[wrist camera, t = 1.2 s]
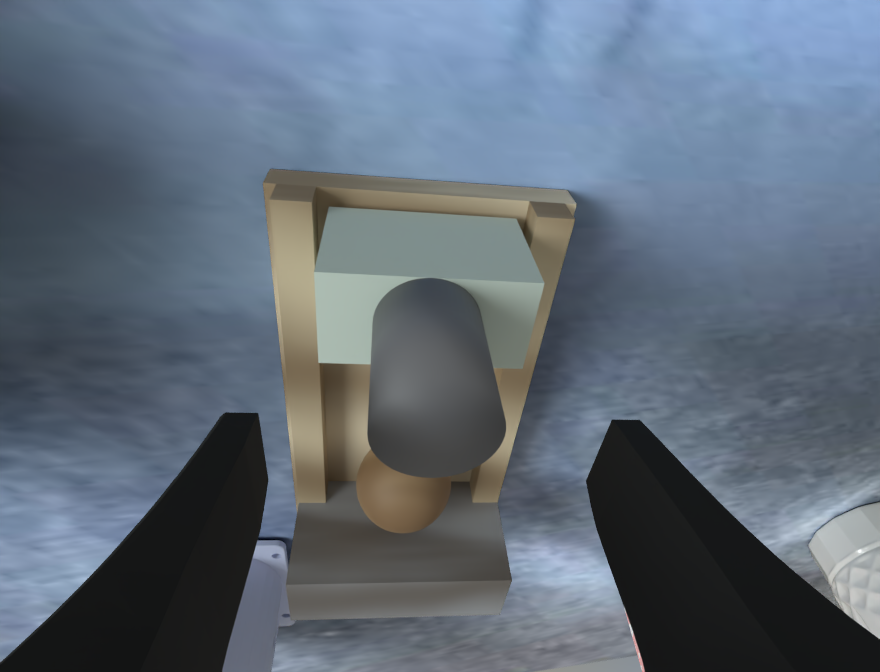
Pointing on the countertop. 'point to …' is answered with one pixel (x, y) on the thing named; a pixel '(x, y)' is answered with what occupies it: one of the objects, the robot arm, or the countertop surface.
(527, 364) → the base
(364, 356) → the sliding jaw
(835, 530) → the white cup
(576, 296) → the countertop surface
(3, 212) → the countertop surface
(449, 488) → the nut
